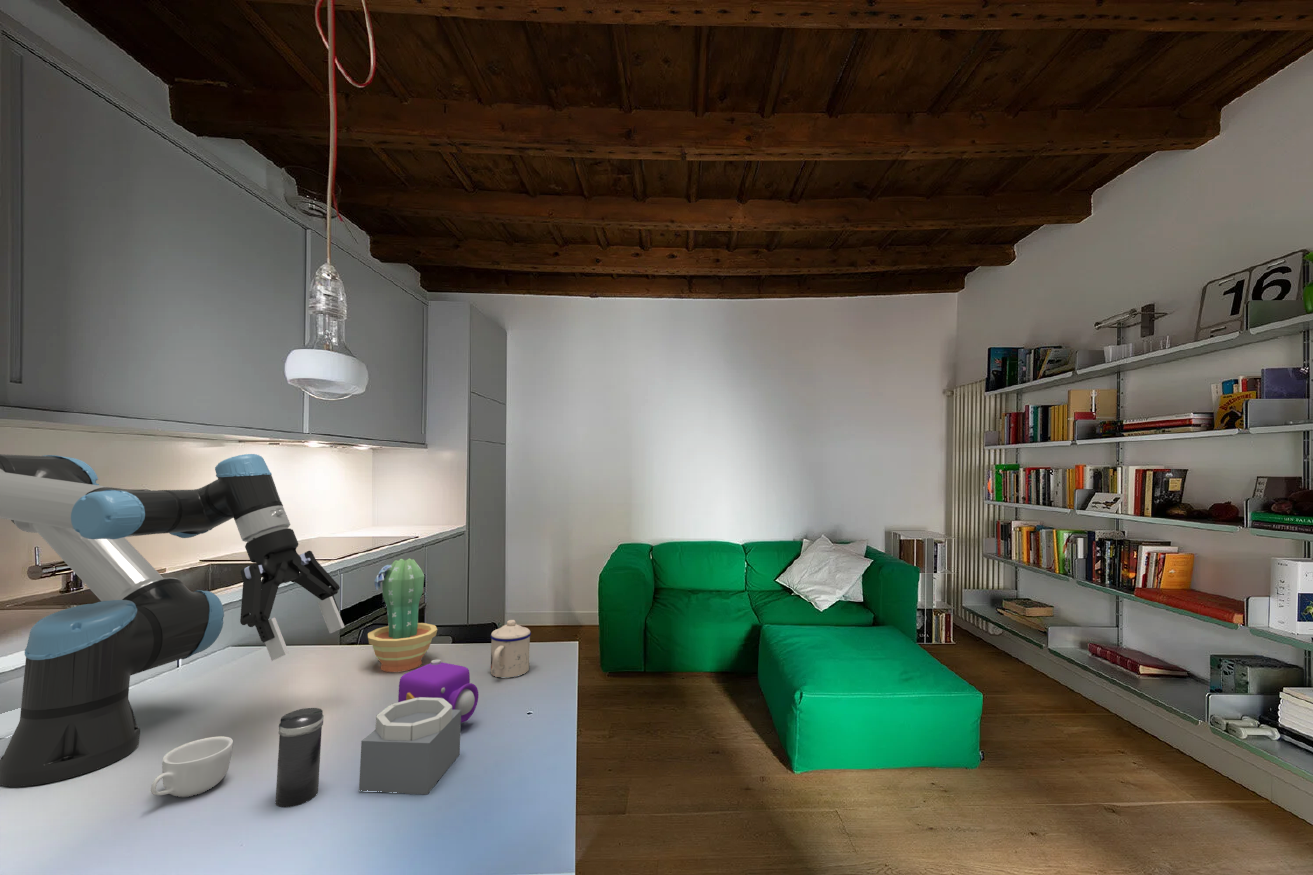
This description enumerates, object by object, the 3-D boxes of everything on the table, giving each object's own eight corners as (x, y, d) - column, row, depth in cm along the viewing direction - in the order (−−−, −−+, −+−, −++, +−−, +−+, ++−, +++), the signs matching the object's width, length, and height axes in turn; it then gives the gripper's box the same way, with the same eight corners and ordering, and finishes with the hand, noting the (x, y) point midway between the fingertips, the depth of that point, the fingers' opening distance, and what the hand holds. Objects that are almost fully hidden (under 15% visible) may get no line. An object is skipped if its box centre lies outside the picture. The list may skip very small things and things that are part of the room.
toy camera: (457, 742, 90) (460, 681, 91) (387, 733, 93) (390, 675, 94) (489, 714, 101) (491, 660, 102) (425, 707, 104) (428, 655, 104)
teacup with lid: (501, 663, 128) (502, 614, 129) (536, 666, 127) (537, 616, 128) (475, 682, 117) (477, 628, 118) (513, 685, 115) (515, 630, 116)
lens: (264, 807, 72) (269, 723, 73) (292, 784, 77) (297, 706, 78) (301, 808, 72) (306, 724, 73) (327, 786, 77) (332, 707, 78)
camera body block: (358, 791, 76) (362, 726, 76) (399, 752, 87) (402, 695, 87) (427, 794, 75) (430, 728, 76) (459, 754, 86) (461, 697, 87)
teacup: (200, 771, 81) (203, 734, 81) (244, 775, 80) (246, 738, 80) (125, 811, 71) (129, 769, 71) (174, 817, 70) (177, 774, 70)
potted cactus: (398, 652, 136) (402, 553, 138) (449, 657, 132) (453, 556, 134) (348, 673, 121) (354, 562, 123) (405, 680, 117) (410, 566, 119)
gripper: (223, 537, 85) (271, 661, 83) (333, 518, 110) (372, 614, 108) (184, 556, 85) (231, 679, 84) (303, 533, 110) (341, 628, 109)
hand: (311, 643), depth 96 cm, fingers open, 13 cm apart
